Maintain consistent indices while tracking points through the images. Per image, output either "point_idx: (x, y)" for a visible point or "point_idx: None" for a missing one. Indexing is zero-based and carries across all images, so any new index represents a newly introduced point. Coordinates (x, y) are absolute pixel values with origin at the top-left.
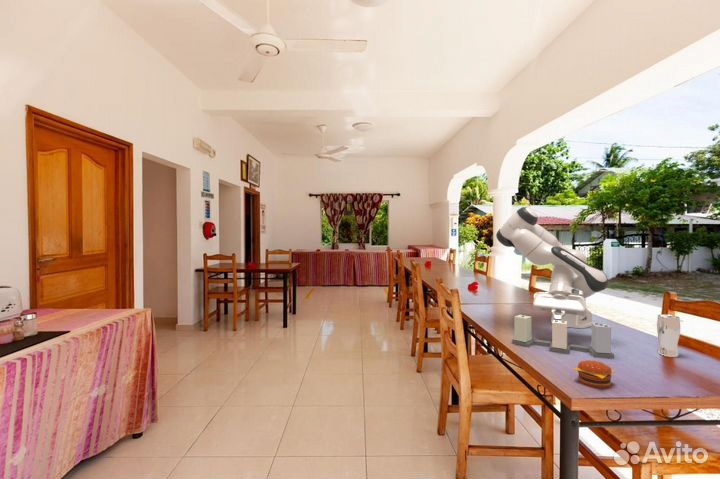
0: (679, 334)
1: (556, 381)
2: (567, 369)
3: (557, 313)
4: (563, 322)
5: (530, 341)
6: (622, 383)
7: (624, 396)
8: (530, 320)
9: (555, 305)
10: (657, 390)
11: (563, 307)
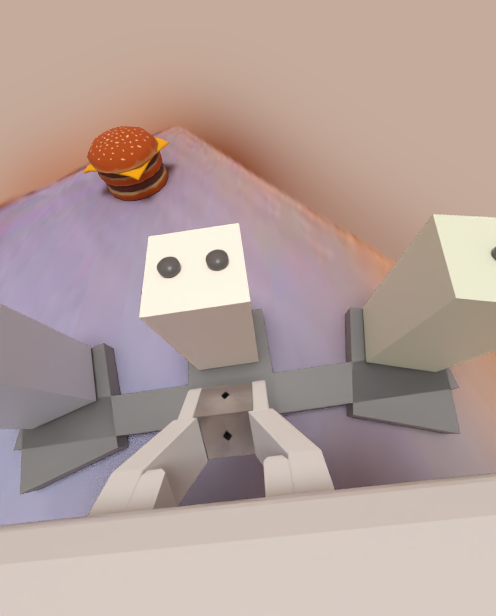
0: None
1: (204, 151)
2: (190, 207)
3: None
4: (167, 261)
5: (359, 344)
6: (86, 203)
7: None
8: (429, 298)
9: (269, 593)
10: (30, 209)
11: (64, 556)
